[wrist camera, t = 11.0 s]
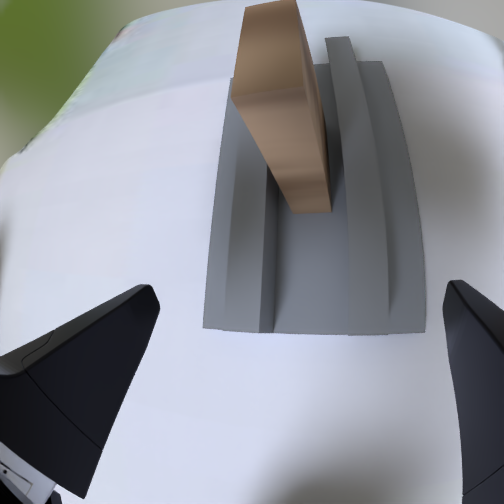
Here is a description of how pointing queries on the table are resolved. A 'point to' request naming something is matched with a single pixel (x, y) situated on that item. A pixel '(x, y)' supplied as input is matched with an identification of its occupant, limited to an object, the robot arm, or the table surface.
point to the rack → (321, 222)
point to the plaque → (283, 103)
